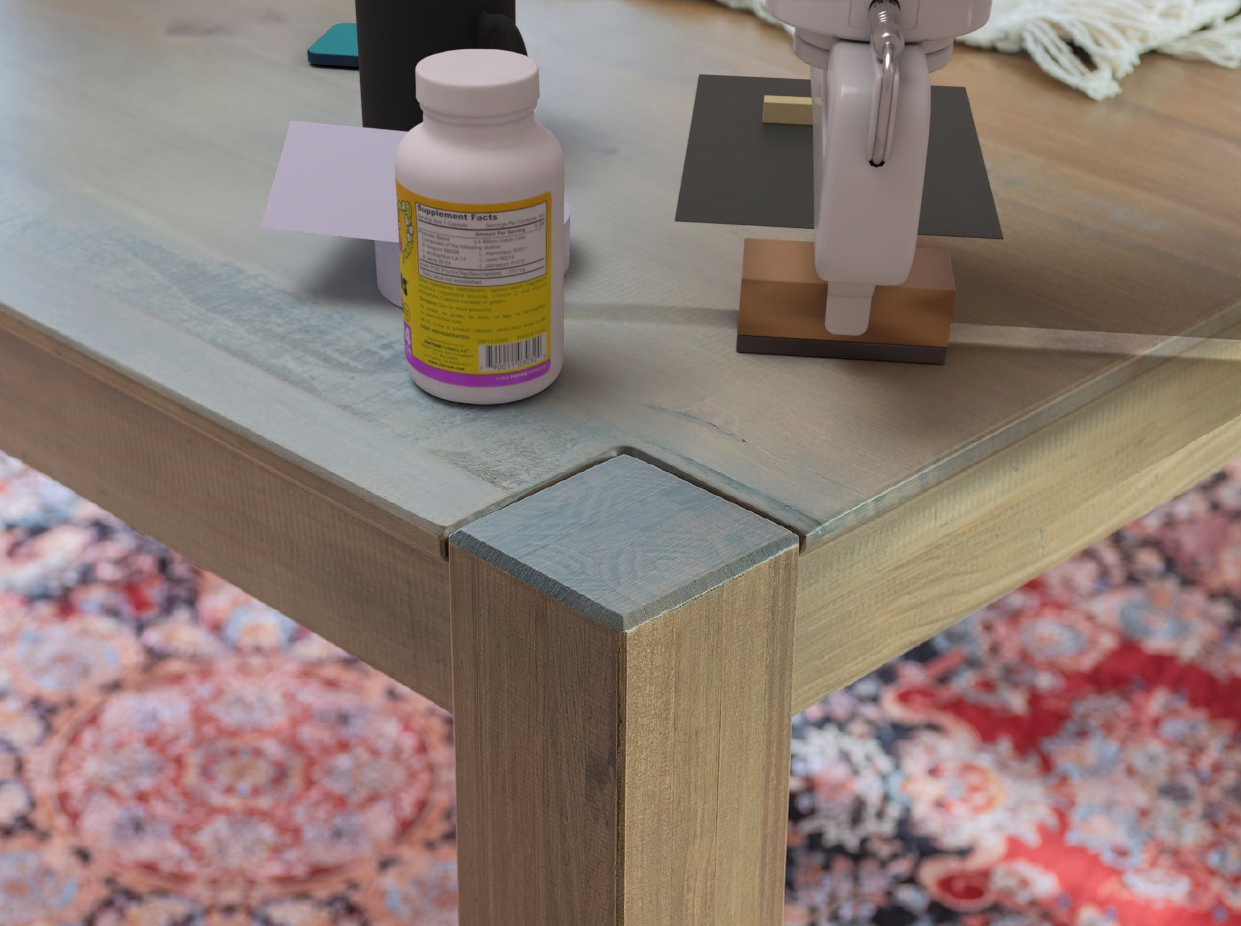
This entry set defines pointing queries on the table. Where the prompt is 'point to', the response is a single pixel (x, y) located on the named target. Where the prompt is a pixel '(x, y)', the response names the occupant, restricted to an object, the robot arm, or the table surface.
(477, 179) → the supplement bottle
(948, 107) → the slate board
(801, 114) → the chalk
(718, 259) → the table surface
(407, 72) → the mug
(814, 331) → the eraser
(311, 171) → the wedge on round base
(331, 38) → the smartphone
